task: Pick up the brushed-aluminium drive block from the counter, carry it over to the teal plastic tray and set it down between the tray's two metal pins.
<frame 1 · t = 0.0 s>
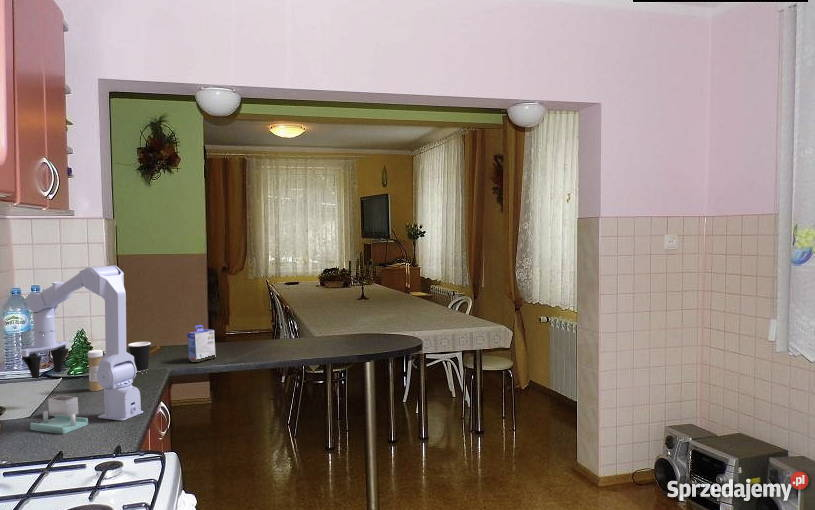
hand: (47, 375, 186), 10 cm above the countertop, tool pointing down, fingers open, 7 cm apart
dixie cup: (140, 372, 230), on the countertop
tray: (59, 427, 168), on the countertop
drive block: (63, 414, 179), on the countertop
sprinkles bottle: (96, 390, 206), on the countertop
ink cartridge box: (202, 361, 248), on the countertop
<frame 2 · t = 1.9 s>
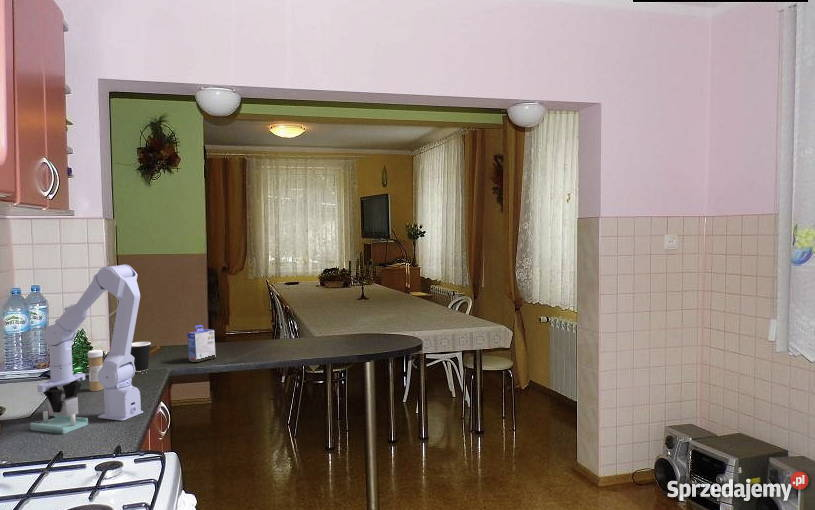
hand: (63, 409, 179), 1 cm above the countertop, tool pointing down, fingers closed on drive block, 4 cm apart
drive block: (63, 414, 179), on the countertop, touching gripper
everything else where it was.
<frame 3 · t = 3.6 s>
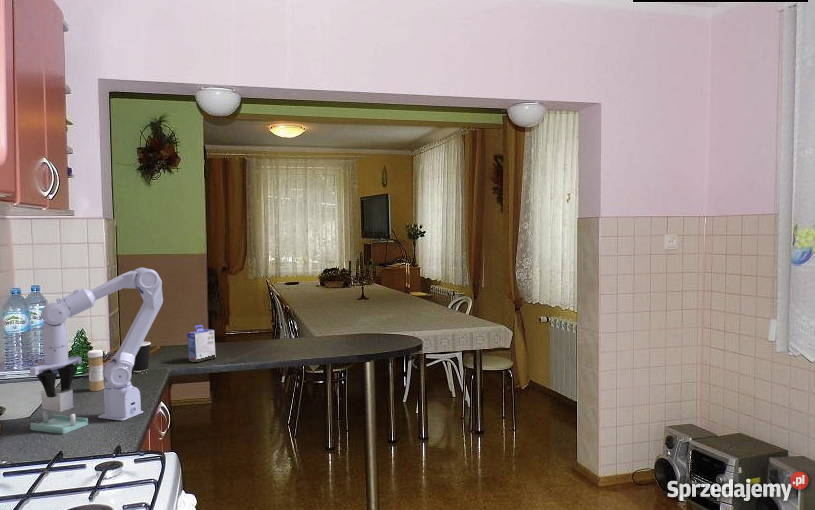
hand: (58, 394, 168), 9 cm above the countertop, tool pointing down, fingers closed on drive block, 4 cm apart
drive block: (57, 408, 169), point 5 cm above the countertop, touching gripper
everything else where it was.
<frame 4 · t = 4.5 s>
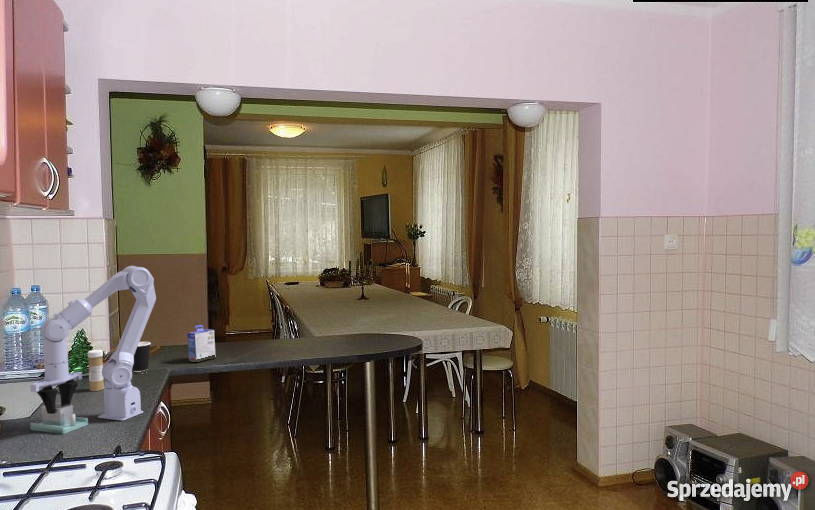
hand: (58, 410, 168), 5 cm above the countertop, tool pointing down, fingers closed on drive block, 4 cm apart
drive block: (58, 423, 168), point 1 cm above the countertop, touching gripper, tray
everything else where it was.
when the fingers open (4 cm above the countertop, at t = 5.1 s): drive block stays where it is, resting on tray.
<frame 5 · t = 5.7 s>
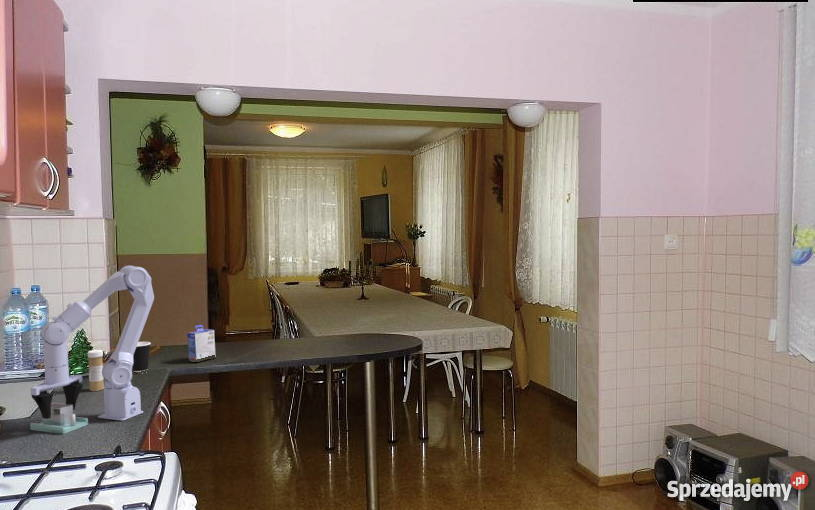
hand: (58, 413, 168), 4 cm above the countertop, tool pointing down, fingers open, 7 cm apart
drive block: (58, 423, 168), point 1 cm above the countertop, touching tray
everything else where it was.
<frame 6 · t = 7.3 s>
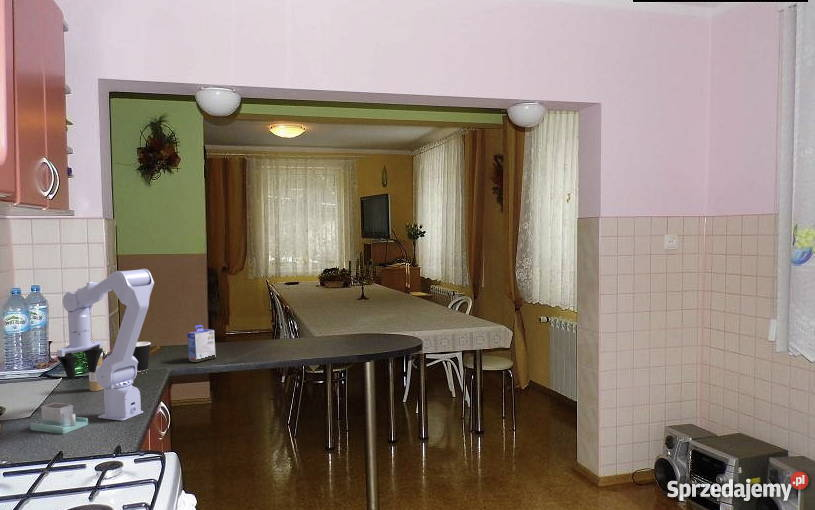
hand: (81, 375, 184), 10 cm above the countertop, tool pointing down, fingers open, 7 cm apart
nothing on the countertop moved.
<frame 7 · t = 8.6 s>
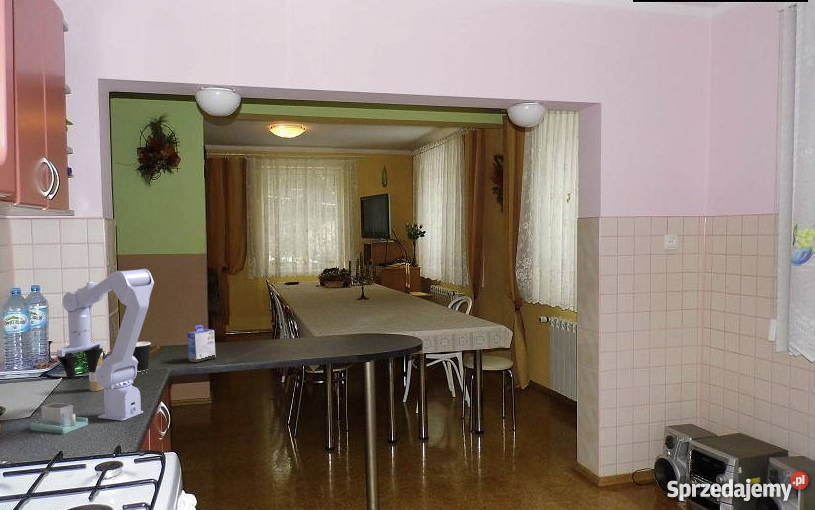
hand: (81, 375, 184), 10 cm above the countertop, tool pointing down, fingers open, 7 cm apart
nothing on the countertop moved.
at the end: drive block 0.5 cm off-centre on the tray, point 1.0 cm above the tray's base; drive block tilted 0°; the gripper is holding nothing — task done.
